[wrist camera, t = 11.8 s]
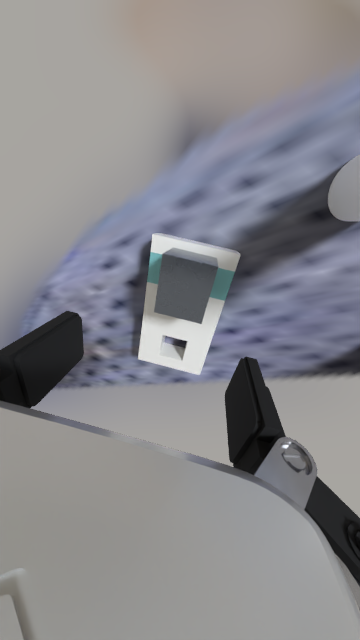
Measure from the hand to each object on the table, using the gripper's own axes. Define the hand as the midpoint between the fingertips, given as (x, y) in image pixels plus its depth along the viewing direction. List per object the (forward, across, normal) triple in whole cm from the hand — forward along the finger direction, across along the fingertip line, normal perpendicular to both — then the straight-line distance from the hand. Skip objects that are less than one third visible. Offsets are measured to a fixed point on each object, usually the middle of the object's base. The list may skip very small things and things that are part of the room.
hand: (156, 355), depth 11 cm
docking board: (+22, 0, +6) cm, 23 cm away
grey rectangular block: (+22, 0, 0) cm, 22 cm away
